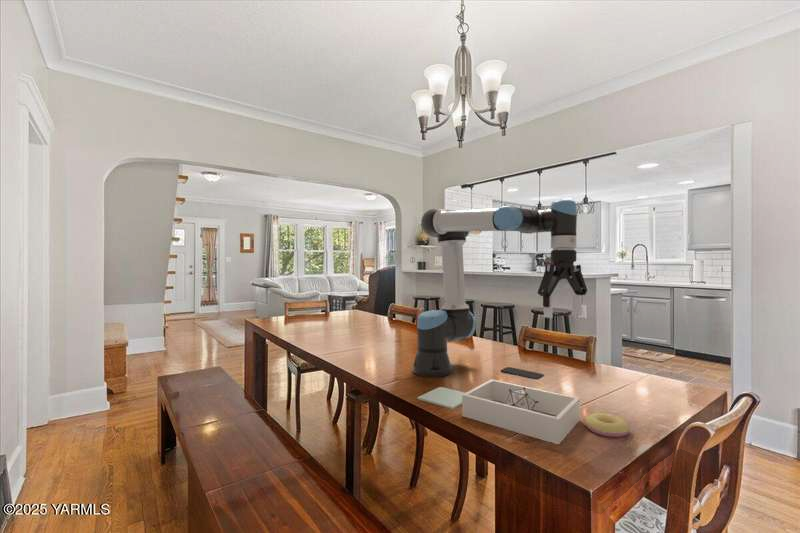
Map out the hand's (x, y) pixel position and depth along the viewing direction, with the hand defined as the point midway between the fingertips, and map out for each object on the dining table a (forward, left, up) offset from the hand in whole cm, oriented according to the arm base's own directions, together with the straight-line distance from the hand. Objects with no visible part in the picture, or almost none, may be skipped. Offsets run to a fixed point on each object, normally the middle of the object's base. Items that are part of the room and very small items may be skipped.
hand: (563, 316), depth 121 cm
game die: (-4, -25, -26) cm, 36 cm away
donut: (+16, -18, -26) cm, 36 cm away
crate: (-4, -25, -26) cm, 36 cm away
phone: (-20, +16, -26) cm, 36 cm away
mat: (-28, -25, -26) cm, 45 cm away
